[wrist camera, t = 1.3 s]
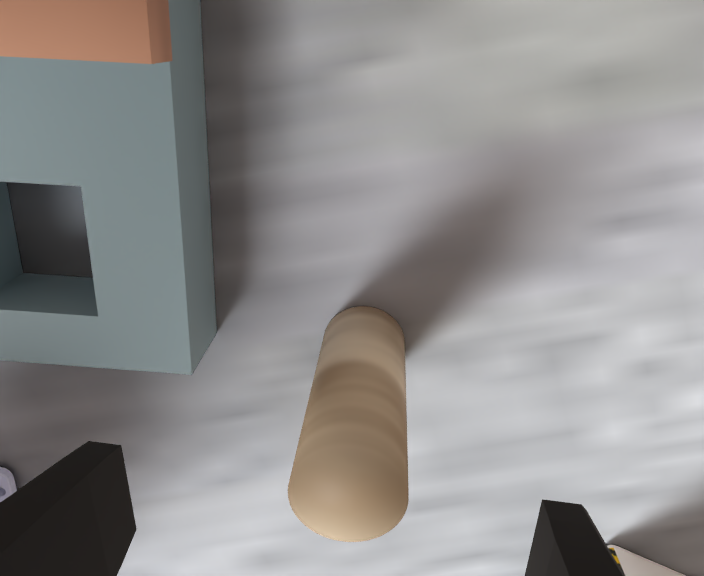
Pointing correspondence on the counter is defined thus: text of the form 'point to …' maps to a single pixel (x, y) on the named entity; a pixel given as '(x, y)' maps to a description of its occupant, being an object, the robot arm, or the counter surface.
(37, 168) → the socket block
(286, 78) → the counter surface
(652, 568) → the medicine bottle
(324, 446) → the birch peg
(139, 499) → the counter surface
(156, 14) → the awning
